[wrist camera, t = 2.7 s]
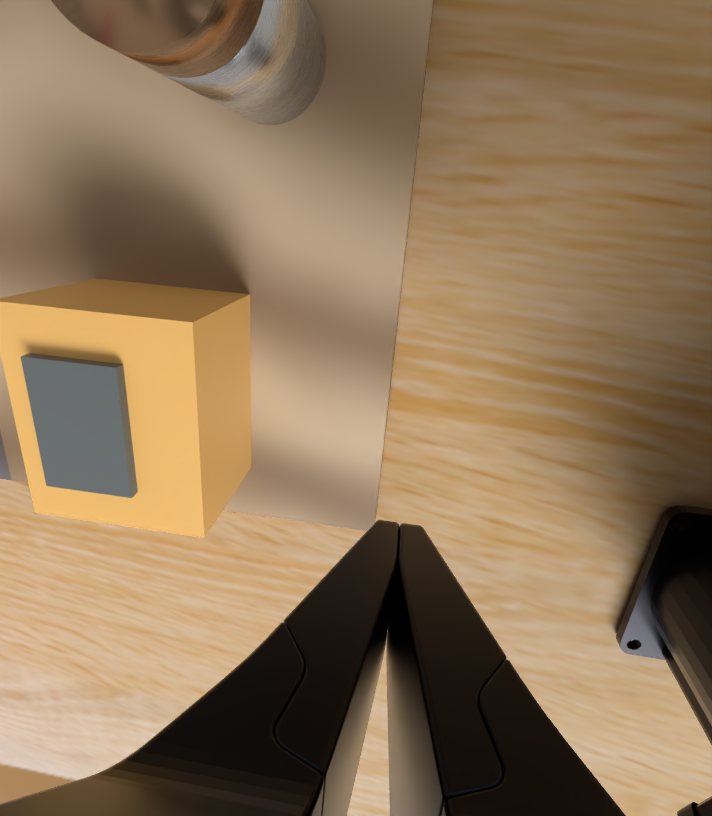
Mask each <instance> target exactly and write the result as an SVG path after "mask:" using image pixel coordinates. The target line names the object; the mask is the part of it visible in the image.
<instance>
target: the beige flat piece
mask: <svg viewBox="0 0 712 816" xmlns="http://www.w3.org/2000/svg"><path fill="white" fill-rule="evenodd" d="M307 1H308V3H309V5H310V7H311V9H312V11H313V12H314V14H315V16H316V18H317V20H318V22H319V25H320V28H321V30H322V34H323V38H324V43H325V51H326V62H325V71H324V76H323V80H322V83H321V86H320V89H319V91H318V93H317V95H316V97H315V98H314V100H313V102H312V103H311V104H310V105H309V107H308V108H307V109H306V110H305V111H304V112H303V113H302V114H300V115H299V116H298V117H296V118H295V119H293V120H291V121H289V122H286V123H283V124H278V125H263V124H258V123H255V122H252V121H250V120H248V119H246V118H244V117H242V116H240V115H238V114H236V113H234V112H232V111H230V110H228V109H226V108H225V107H223V106H221V105H219V104H217V103H215V102H213V101H211V100H209V99H207V98H205V97H203V96H201V95H200V94H198V93H196V92H194V91H192V90H190V89H188V88H186V87H184V86H182V85H180V84H178V83H176V82H175V81H173V80H171V79H169V78H167V77H165V76H163V75H161V74H159V73H157V72H155V71H153V70H152V69H150V68H148V67H146V66H144V65H142V64H140V63H138V62H136V61H134V60H132V59H130V58H128V57H127V56H125V55H123V54H121V53H119V52H117V51H115V50H113V49H111V48H109V47H107V46H105V45H104V44H102V43H100V42H98V41H96V40H94V39H92V38H91V37H89V36H88V35H86V34H85V33H83V32H82V31H80V30H79V29H78V28H77V27H75V26H74V25H73V24H72V23H71V22H70V21H69V20H68V19H67V18H66V17H65V16H64V15H63V14H62V13H61V12H60V11H59V10H58V9H57V7H56V6H55V5H54V4H53V2H52V1H51V0H0V298H3V297H8V296H12V295H17V294H22V293H27V292H32V291H36V290H41V289H46V288H51V287H56V286H60V285H65V284H70V283H75V282H80V281H84V280H89V279H94V278H96V279H106V280H115V281H125V282H135V283H145V284H155V285H164V286H174V287H184V288H194V289H203V290H213V291H223V292H233V293H243V294H250V337H251V468H250V470H249V471H248V473H247V474H246V476H245V477H244V479H243V480H242V482H241V483H240V485H239V486H238V488H237V490H236V491H235V493H234V494H233V496H232V497H231V499H230V500H229V502H228V503H227V505H226V506H225V508H224V509H223V510H224V511H231V512H238V513H245V514H253V515H260V516H267V517H274V518H281V519H288V520H295V521H302V522H309V523H316V524H323V525H330V526H337V527H344V528H351V529H358V530H365V531H368V530H369V529H370V528H371V527H372V526H373V525H374V524H375V518H376V510H377V501H378V492H379V483H380V475H381V466H382V457H383V448H384V439H385V430H386V421H387V412H388V403H389V394H390V385H391V376H392V367H393V359H394V350H395V341H396V332H397V323H398V314H399V305H400V296H401V287H402V278H403V269H404V260H405V251H406V243H407V234H408V225H409V216H410V207H411V198H412V189H413V180H414V171H415V162H416V153H417V144H418V135H419V127H420V118H421V109H422V100H423V91H424V82H425V73H426V64H427V55H428V46H429V37H430V28H431V19H432V11H433V2H434V0H307ZM0 479H7V480H14V481H21V482H28V479H27V474H26V470H25V465H24V460H23V456H22V451H21V447H20V442H19V437H18V433H17V428H16V423H15V419H14V414H13V410H12V405H11V400H10V396H9V391H8V386H7V382H6V377H5V373H4V368H3V363H2V359H1V354H0Z"/></svg>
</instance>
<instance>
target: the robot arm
mask: <svg viewBox="0 0 712 816" xmlns="http://www.w3.org/2000/svg"><path fill="white" fill-rule="evenodd" d="M685 518H686V519H685ZM680 519H685V520H684V522H682V523H680V524H676V522H677V521H678V520H680ZM387 630H388V632H387ZM386 638H387V701H388V743H389V786H390V816H625V814H624V813H623V812H622V811H621V809H620V808H619V807H618V806H617V804H616V803H615V802H614V801H613V799H612V798H611V797H610V796H609V794H608V793H607V792H606V791H605V789H604V788H603V787H602V786H601V784H600V783H599V782H598V780H597V779H596V778H595V777H594V775H593V774H592V773H591V772H590V770H589V769H588V768H587V767H586V765H585V764H584V763H583V762H582V760H581V759H580V758H579V757H578V755H577V754H576V753H575V752H574V750H573V749H572V748H571V747H570V745H569V744H568V743H567V742H566V740H565V739H564V738H563V736H562V735H561V734H560V732H559V731H558V730H557V728H556V727H555V726H554V724H553V723H552V722H551V721H550V719H549V718H548V717H547V715H546V714H545V713H544V711H543V710H542V709H541V707H540V706H539V704H538V703H537V701H536V700H535V699H534V697H533V696H532V694H531V693H530V691H529V690H528V688H527V687H526V685H525V684H524V683H523V681H522V680H521V678H520V677H519V675H518V673H517V672H516V670H515V669H514V667H513V666H512V664H511V663H510V661H509V660H506V655H505V654H504V652H503V651H502V649H501V647H500V646H499V644H498V643H497V641H496V640H495V638H494V637H493V635H492V634H491V632H490V630H489V629H488V627H487V626H486V624H485V623H484V621H483V620H482V618H481V617H480V615H479V613H478V612H477V610H476V609H475V607H474V606H473V604H472V603H471V601H470V600H469V598H468V596H467V595H466V593H465V592H464V590H463V589H462V587H461V586H460V584H459V583H458V581H457V579H456V578H455V576H454V575H453V573H452V572H451V570H450V569H449V567H448V566H447V564H446V563H445V561H444V559H443V558H442V556H441V555H440V553H439V552H438V550H437V549H436V547H435V546H434V544H433V542H432V541H431V539H430V538H429V536H428V535H427V533H426V532H425V530H424V529H423V527H421V526H419V525H412V524H404V523H403V524H401V525H400V527H399V524H398V523H396V522H391V521H384V520H378V521H377V522H375V524H374V525H373V526H372V527H371V528H370V529H369V530H368V531H367V532H366V533H365V534H364V535H363V536H362V537H361V538H360V540H359V541H358V542H357V543H356V544H355V545H354V546H353V547H352V548H351V549H350V550H349V551H348V552H347V553H346V554H345V556H344V557H343V558H342V559H341V560H340V561H339V562H338V563H337V564H336V565H335V566H334V567H333V568H332V569H331V571H330V572H329V573H328V574H327V575H326V576H325V577H324V578H323V579H322V580H321V581H320V582H319V583H318V584H317V585H316V587H315V588H314V589H313V590H312V591H311V592H310V593H309V594H308V595H307V596H306V597H305V598H304V599H303V600H302V601H301V603H300V604H299V605H298V606H297V607H296V608H295V609H294V610H293V611H292V612H291V613H290V614H289V615H288V616H287V617H286V619H285V620H284V623H281V624H280V625H279V626H278V627H277V628H276V629H275V630H274V631H273V632H272V633H271V634H270V635H269V636H268V638H267V639H266V640H265V641H264V642H263V643H262V644H261V645H260V646H259V647H258V648H256V649H255V650H254V651H253V652H252V653H251V654H250V655H249V656H248V657H247V658H246V659H245V660H244V661H243V662H242V663H241V664H240V665H238V666H237V667H236V668H235V669H234V670H233V671H232V672H231V673H229V674H228V675H227V676H226V677H225V678H224V679H223V680H221V681H220V682H219V683H218V684H217V685H216V686H214V687H213V688H212V689H211V690H210V691H208V692H207V693H206V694H205V695H204V696H202V697H201V698H200V699H199V700H198V701H196V702H195V703H194V704H193V705H192V706H190V707H189V708H188V709H187V710H186V711H184V712H183V713H182V714H181V715H180V716H178V717H177V718H176V719H175V720H174V721H172V722H171V723H170V724H169V725H168V726H166V727H165V728H164V729H163V730H162V731H160V732H159V733H158V734H157V735H156V736H154V737H153V738H152V739H151V740H150V741H148V742H147V743H146V744H145V745H143V746H142V747H141V748H139V749H138V750H137V751H135V752H134V753H133V754H131V755H130V756H128V757H127V758H125V759H124V760H122V761H120V762H119V763H117V764H115V765H113V766H112V767H110V768H108V769H106V770H104V771H102V772H100V773H98V774H95V775H92V776H90V777H87V778H83V779H80V780H77V781H74V782H70V783H67V784H64V785H61V786H57V787H54V788H51V789H48V790H44V791H41V792H38V793H35V794H31V795H28V796H25V797H21V798H19V799H15V800H12V801H8V802H5V803H2V804H0V816H347V811H348V807H349V803H350V798H351V794H352V790H353V785H354V781H355V777H356V772H357V768H358V764H359V759H360V755H361V751H362V746H363V742H364V738H365V733H366V729H367V725H368V720H369V716H370V712H371V707H372V703H373V699H374V694H375V690H376V686H377V681H378V677H379V673H380V668H381V664H382V660H383V655H384V650H385V645H386ZM616 639H617V641H618V643H619V645H620V648H621V650H622V651H624V652H625V653H628V654H632V655H638V656H644V657H651V658H657V659H664V660H666V662H667V663H668V665H669V667H670V669H671V671H672V673H673V674H674V676H675V678H676V680H677V682H678V684H679V685H680V687H681V689H682V691H683V693H684V695H685V697H686V698H687V700H688V702H689V704H690V706H691V708H692V709H693V711H694V713H695V715H696V717H697V719H698V721H699V722H700V724H701V726H702V728H703V730H704V732H705V733H706V735H707V737H708V739H709V741H710V743H711V744H712V509H705V508H697V507H690V506H674V507H671V508H669V509H668V510H667V511H665V513H664V514H663V516H662V518H661V521H660V523H659V526H658V528H657V531H656V534H655V536H654V539H653V541H652V544H651V546H650V549H649V552H648V554H647V557H646V559H645V562H644V565H643V567H642V570H641V572H640V575H639V577H638V580H637V583H636V585H635V588H634V590H633V593H632V595H631V598H630V601H629V603H628V606H627V608H626V611H625V613H624V616H623V619H622V621H621V624H620V626H619V629H618V631H617V634H616ZM631 640H633V641H631ZM677 815H678V816H712V796H711V797H710V798H708V799H706V800H705V801H703V802H701V803H700V804H697V803H695V802H692V803H691V804H689V805H687V806H686V807H684V808H682V809H681V810H679V811H678V812H677Z"/></svg>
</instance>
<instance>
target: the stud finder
mask: <svg viewBox="0 0 712 816" xmlns="http://www.w3.org/2000/svg"><path fill="white" fill-rule="evenodd" d="M0 354H1V359H2V363H3V368H4V373H5V377H6V382H7V386H8V391H9V396H10V400H11V405H12V410H13V414H14V419H15V423H16V428H17V433H18V437H19V442H20V447H21V451H22V456H23V460H24V465H25V470H26V474H27V479H28V484H29V488H30V493H31V497H32V502H33V507H34V511H35V513H39V514H46V515H52V516H59V517H66V518H73V519H79V520H86V521H93V522H100V523H107V524H113V525H120V526H127V527H134V528H140V529H147V530H154V531H161V532H167V533H174V534H181V535H188V536H194V537H201V538H205V536H206V535H207V533H208V532H209V530H210V529H211V527H212V526H213V524H214V523H215V521H216V520H217V518H218V517H219V515H220V514H221V512H222V511H223V509H224V508H225V506H226V505H227V503H228V502H229V500H230V499H231V497H232V496H233V494H234V493H235V491H236V490H237V488H238V486H239V485H240V483H241V482H242V480H243V479H244V477H245V476H246V474H247V473H248V471H249V470H250V468H251V337H250V294H243V293H233V292H223V291H213V290H203V289H194V288H184V287H174V286H164V285H155V284H145V283H135V282H125V281H115V280H106V279H96V278H94V279H89V280H84V281H80V282H75V283H70V284H65V285H60V286H56V287H51V288H46V289H41V290H36V291H32V292H27V293H22V294H17V295H12V296H8V297H3V298H0Z"/></svg>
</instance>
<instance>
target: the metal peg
mask: <svg viewBox="0 0 712 816" xmlns="http://www.w3.org/2000/svg"><path fill="white" fill-rule="evenodd" d="M51 1H52V2H53V4H54V5H55V6H56V7H57V9H58V10H59V11H60V12H61V13H62V14H63V15H64V16H65V17H66V18H67V19H68V20H69V21H70V22H71V23H72V24H73V25H74V26H75V27H77V28H78V29H79V30H80V31H82V32H83V33H85V34H86V35H88V36H89V37H91V38H92V39H94V40H96V41H98V42H100V43H102V44H104V45H105V46H107V47H109V48H111V49H113V50H115V51H117V52H119V53H121V54H123V55H125V56H127V57H128V58H130V59H132V60H134V61H136V62H138V63H140V64H142V65H144V66H146V67H148V68H150V69H152V70H153V71H155V72H157V73H159V74H161V75H163V76H165V77H167V78H169V79H171V80H173V81H175V82H176V83H178V84H180V85H182V86H184V87H186V88H188V89H190V90H192V91H194V92H196V93H198V94H200V95H201V96H203V97H205V98H207V99H209V100H211V101H213V102H215V103H217V104H219V105H221V106H223V107H225V108H226V109H228V110H230V111H232V112H234V113H236V114H238V115H240V116H242V117H244V118H246V119H248V120H250V121H252V122H255V123H258V124H263V125H278V124H283V123H286V122H289V121H291V120H293V119H295V118H296V117H298V116H299V115H300V114H302V113H303V112H304V111H305V110H306V109H307V108H308V107H309V105H310V104H311V103H312V102H313V100H314V98H315V97H316V95H317V93H318V91H319V89H320V86H321V83H322V80H323V76H324V71H325V62H326V51H325V43H324V38H323V34H322V30H321V28H320V25H319V22H318V20H317V18H316V16H315V14H314V12H313V11H312V9H311V7H310V5H309V3H308V1H307V0H51Z"/></svg>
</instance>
